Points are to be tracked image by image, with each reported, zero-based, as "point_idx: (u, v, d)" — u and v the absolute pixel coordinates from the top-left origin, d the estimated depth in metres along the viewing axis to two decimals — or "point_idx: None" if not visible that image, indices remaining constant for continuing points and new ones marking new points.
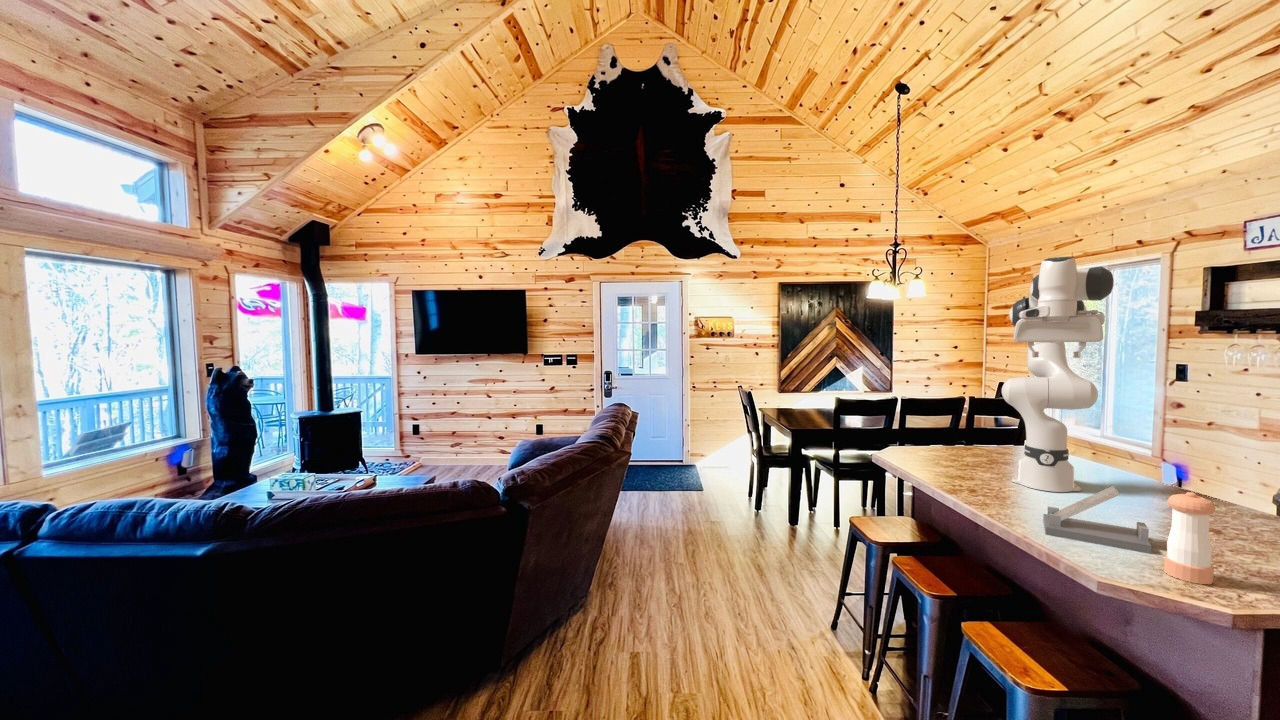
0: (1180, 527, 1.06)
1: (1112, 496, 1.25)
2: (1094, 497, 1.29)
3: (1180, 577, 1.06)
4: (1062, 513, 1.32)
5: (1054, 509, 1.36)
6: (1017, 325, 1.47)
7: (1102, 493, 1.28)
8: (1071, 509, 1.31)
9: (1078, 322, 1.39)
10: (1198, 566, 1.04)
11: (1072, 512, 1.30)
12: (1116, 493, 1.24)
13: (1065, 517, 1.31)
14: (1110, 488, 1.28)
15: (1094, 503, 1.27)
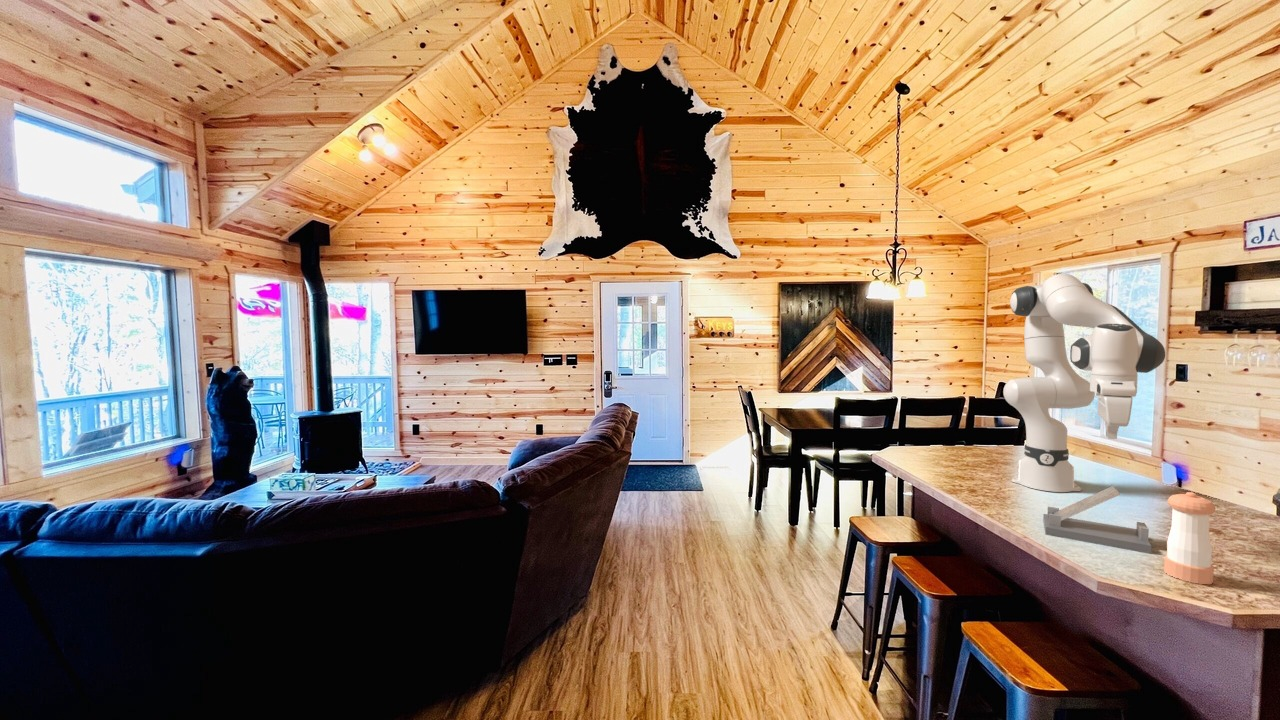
0: (1180, 527, 1.06)
1: (1112, 496, 1.25)
2: (1094, 497, 1.29)
3: (1180, 577, 1.06)
4: (1062, 513, 1.32)
5: (1054, 509, 1.36)
6: None
7: (1102, 493, 1.28)
8: (1071, 509, 1.31)
9: None
10: (1198, 566, 1.04)
11: (1072, 512, 1.30)
12: (1116, 493, 1.24)
13: (1065, 517, 1.31)
14: (1110, 488, 1.28)
15: (1094, 503, 1.27)
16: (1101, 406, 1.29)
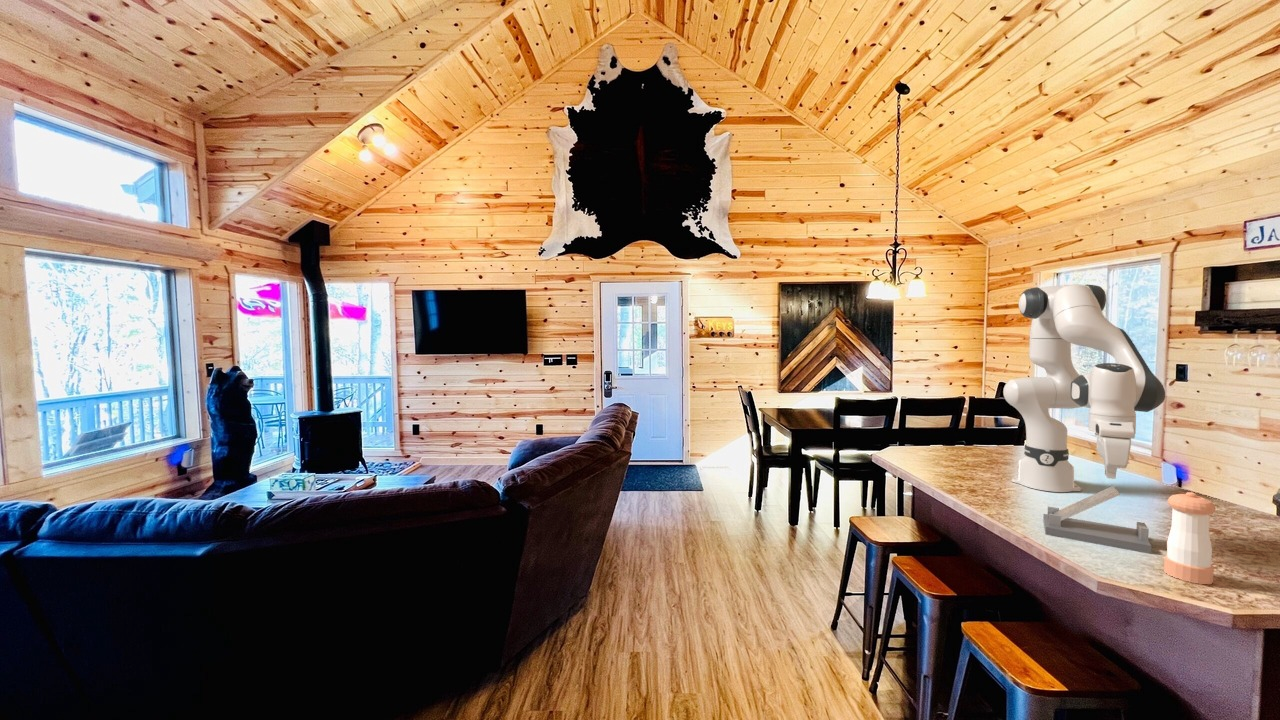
0: (1180, 527, 1.06)
1: (1112, 496, 1.25)
2: (1094, 497, 1.29)
3: (1180, 577, 1.06)
4: (1062, 513, 1.32)
5: (1054, 509, 1.36)
6: (1129, 448, 1.18)
7: (1102, 493, 1.28)
8: (1071, 509, 1.31)
9: None
10: (1198, 566, 1.04)
11: (1072, 512, 1.30)
12: (1116, 493, 1.24)
13: (1065, 517, 1.31)
14: (1110, 488, 1.28)
15: (1094, 503, 1.27)
16: (1100, 445, 1.29)
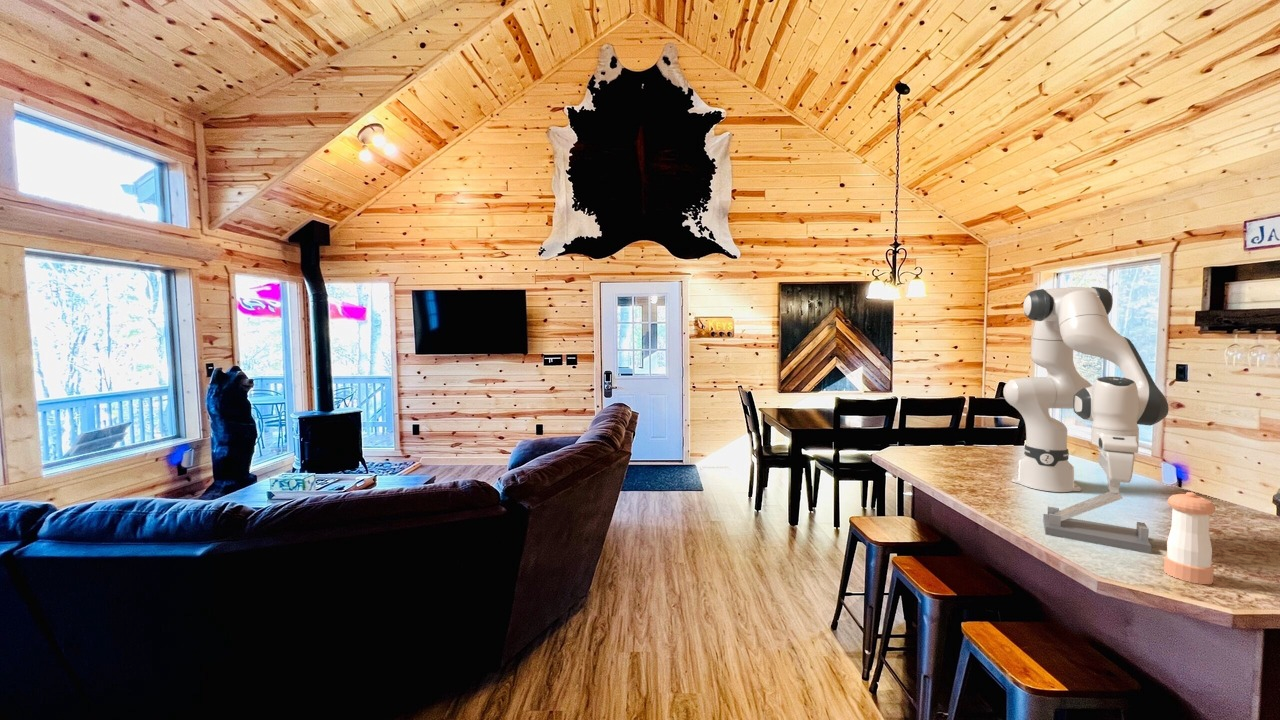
0: (1180, 527, 1.06)
1: (1115, 499, 1.25)
2: (1096, 499, 1.28)
3: (1180, 577, 1.06)
4: (1062, 513, 1.32)
5: (1054, 509, 1.36)
6: (1133, 462, 1.17)
7: (1105, 496, 1.28)
8: (1072, 510, 1.30)
9: None
10: (1198, 566, 1.04)
11: (1073, 513, 1.30)
12: (1119, 496, 1.24)
13: (1065, 518, 1.31)
14: None
15: (1096, 505, 1.27)
16: (1103, 458, 1.29)
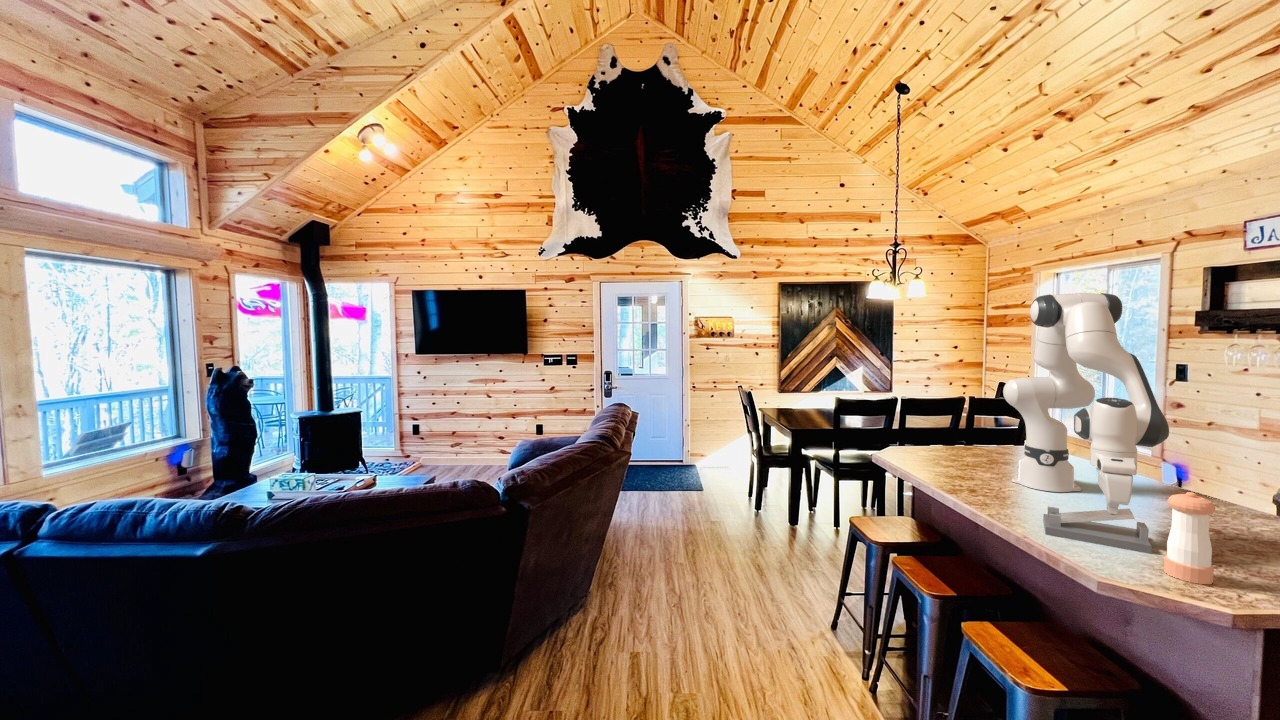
0: (1180, 527, 1.06)
1: (1126, 518, 1.23)
2: (1106, 513, 1.27)
3: (1180, 577, 1.06)
4: (1065, 516, 1.32)
5: (1054, 509, 1.36)
6: (1131, 484, 1.17)
7: None
8: (1077, 516, 1.30)
9: None
10: (1198, 566, 1.04)
11: (1077, 519, 1.29)
12: (1132, 516, 1.23)
13: (1067, 521, 1.31)
14: (1126, 510, 1.26)
15: (1104, 518, 1.26)
16: (1101, 479, 1.29)
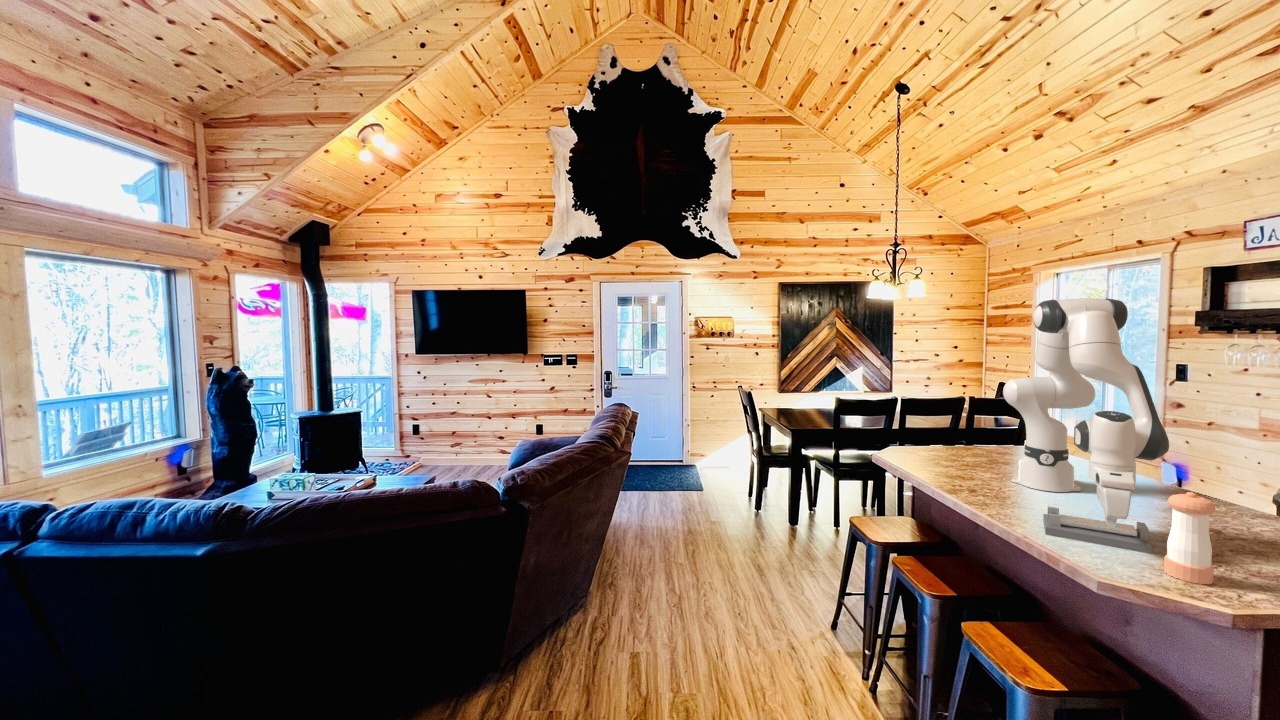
0: (1180, 527, 1.06)
1: (1128, 533, 1.23)
2: None
3: (1180, 577, 1.06)
4: (1066, 519, 1.32)
5: (1054, 509, 1.36)
6: (1130, 499, 1.18)
7: (1119, 526, 1.26)
8: (1078, 521, 1.30)
9: None
10: (1198, 566, 1.04)
11: (1078, 524, 1.29)
12: (1135, 533, 1.23)
13: (1067, 524, 1.31)
14: (1130, 526, 1.26)
15: (1106, 529, 1.26)
16: (1100, 492, 1.30)
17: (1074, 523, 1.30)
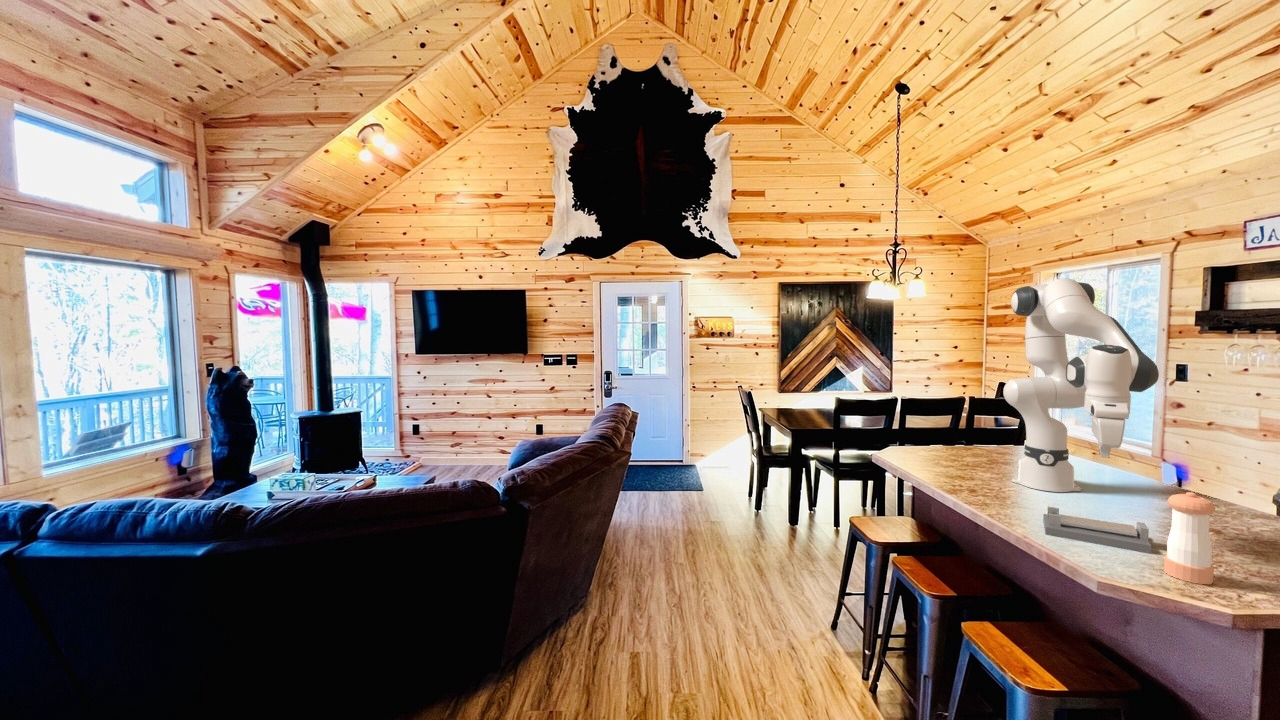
0: (1180, 527, 1.06)
1: (1128, 533, 1.23)
2: (1109, 524, 1.27)
3: (1180, 577, 1.06)
4: (1066, 519, 1.32)
5: (1054, 509, 1.36)
6: (1123, 428, 1.20)
7: (1119, 526, 1.26)
8: (1078, 521, 1.30)
9: None
10: (1198, 566, 1.04)
11: (1078, 524, 1.29)
12: (1135, 533, 1.23)
13: (1067, 524, 1.31)
14: (1130, 526, 1.26)
15: (1106, 529, 1.26)
16: (1095, 425, 1.32)
17: (1074, 523, 1.30)
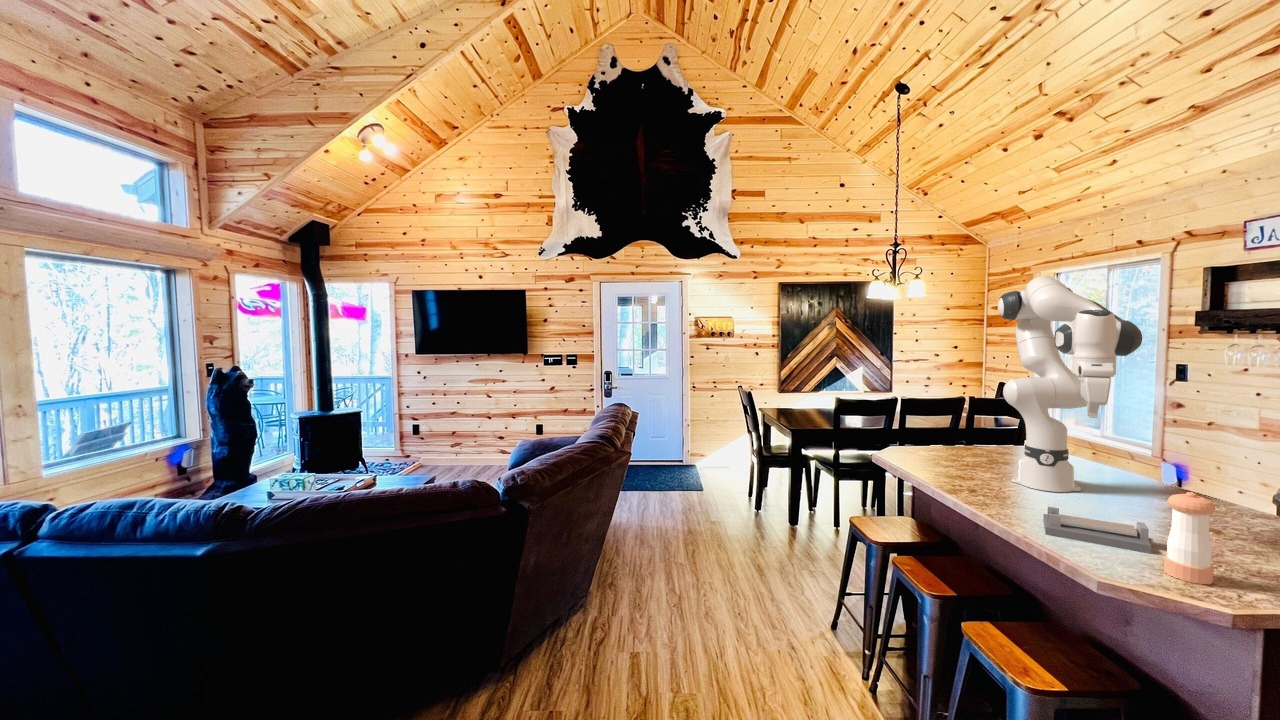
0: (1180, 527, 1.06)
1: (1128, 533, 1.23)
2: (1109, 524, 1.27)
3: (1180, 577, 1.06)
4: (1066, 519, 1.32)
5: (1054, 509, 1.36)
6: (1109, 385, 1.25)
7: (1119, 526, 1.26)
8: (1078, 521, 1.30)
9: None
10: (1198, 566, 1.04)
11: (1078, 524, 1.29)
12: (1135, 533, 1.23)
13: (1067, 524, 1.31)
14: (1130, 526, 1.26)
15: (1106, 529, 1.26)
16: (1083, 388, 1.37)
17: (1074, 523, 1.30)
